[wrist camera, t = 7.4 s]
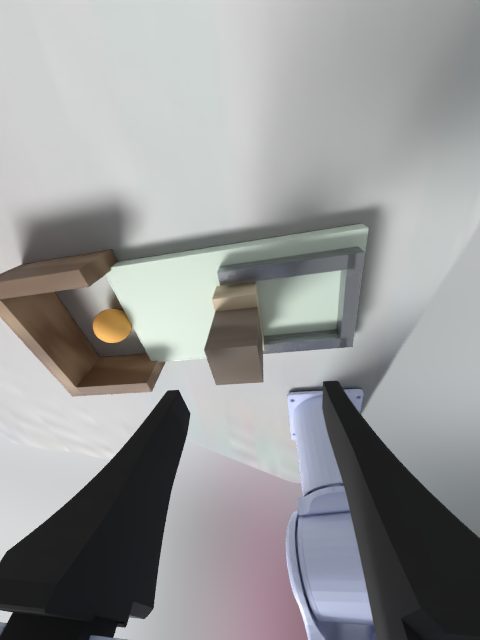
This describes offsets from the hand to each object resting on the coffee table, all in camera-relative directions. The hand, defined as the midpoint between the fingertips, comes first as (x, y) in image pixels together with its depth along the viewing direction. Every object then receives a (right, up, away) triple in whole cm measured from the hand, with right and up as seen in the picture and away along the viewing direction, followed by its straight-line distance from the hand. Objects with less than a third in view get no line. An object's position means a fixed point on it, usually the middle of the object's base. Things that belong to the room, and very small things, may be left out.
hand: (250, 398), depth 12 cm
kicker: (0, +5, +7) cm, 8 cm away
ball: (-12, +3, +9) cm, 15 cm away
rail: (+3, +5, +7) cm, 9 cm away
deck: (-1, +5, +8) cm, 10 cm away
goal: (-14, +4, +10) cm, 18 cm away
